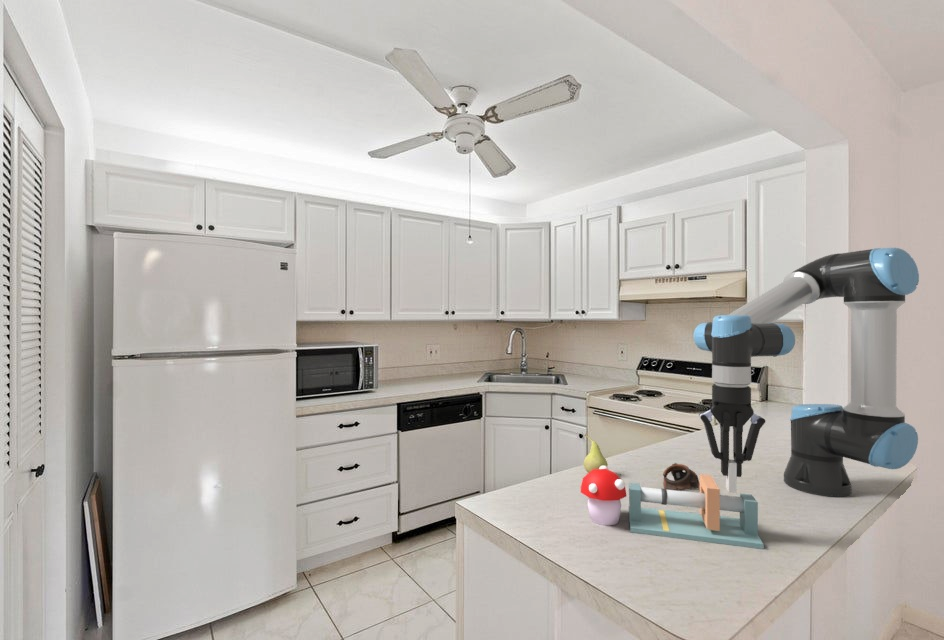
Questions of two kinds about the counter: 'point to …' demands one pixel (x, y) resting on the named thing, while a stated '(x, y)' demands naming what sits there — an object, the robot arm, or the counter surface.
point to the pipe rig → (693, 517)
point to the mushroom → (603, 495)
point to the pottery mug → (680, 478)
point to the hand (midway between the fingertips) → (731, 490)
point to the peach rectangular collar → (710, 502)
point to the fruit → (594, 458)
